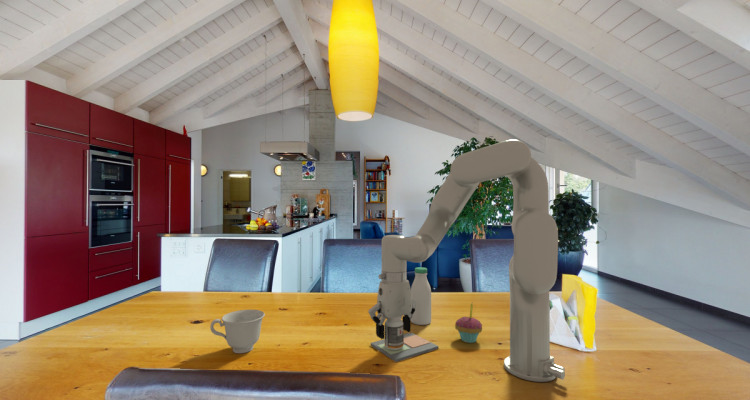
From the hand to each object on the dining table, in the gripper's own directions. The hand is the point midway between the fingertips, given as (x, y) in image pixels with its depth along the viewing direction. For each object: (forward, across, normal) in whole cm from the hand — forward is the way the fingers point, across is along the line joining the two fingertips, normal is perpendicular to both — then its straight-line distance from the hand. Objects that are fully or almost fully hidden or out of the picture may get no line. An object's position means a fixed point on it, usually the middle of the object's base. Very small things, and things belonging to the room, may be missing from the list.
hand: (393, 333), depth 98 cm
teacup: (+5, -39, +25) cm, 47 cm away
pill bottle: (+4, 0, 0) cm, 4 cm away
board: (+5, +4, 0) cm, 6 cm away
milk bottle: (+5, +23, +14) cm, 27 cm away
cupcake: (+5, +25, -7) cm, 26 cm away
